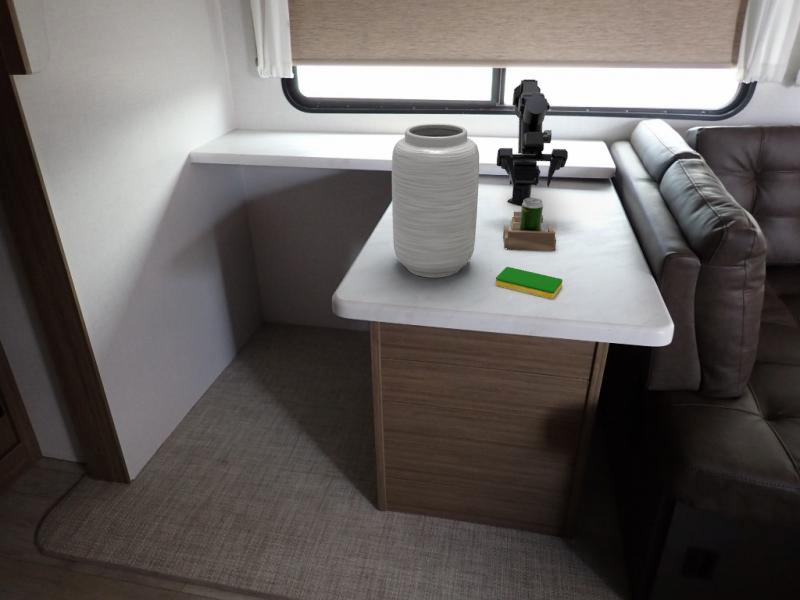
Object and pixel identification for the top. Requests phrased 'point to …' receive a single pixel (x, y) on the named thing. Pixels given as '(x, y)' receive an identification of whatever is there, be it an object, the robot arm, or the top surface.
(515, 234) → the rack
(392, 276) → the top surface
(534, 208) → the beer can
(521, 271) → the dish sponge
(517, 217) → the offcut stack
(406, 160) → the vase
